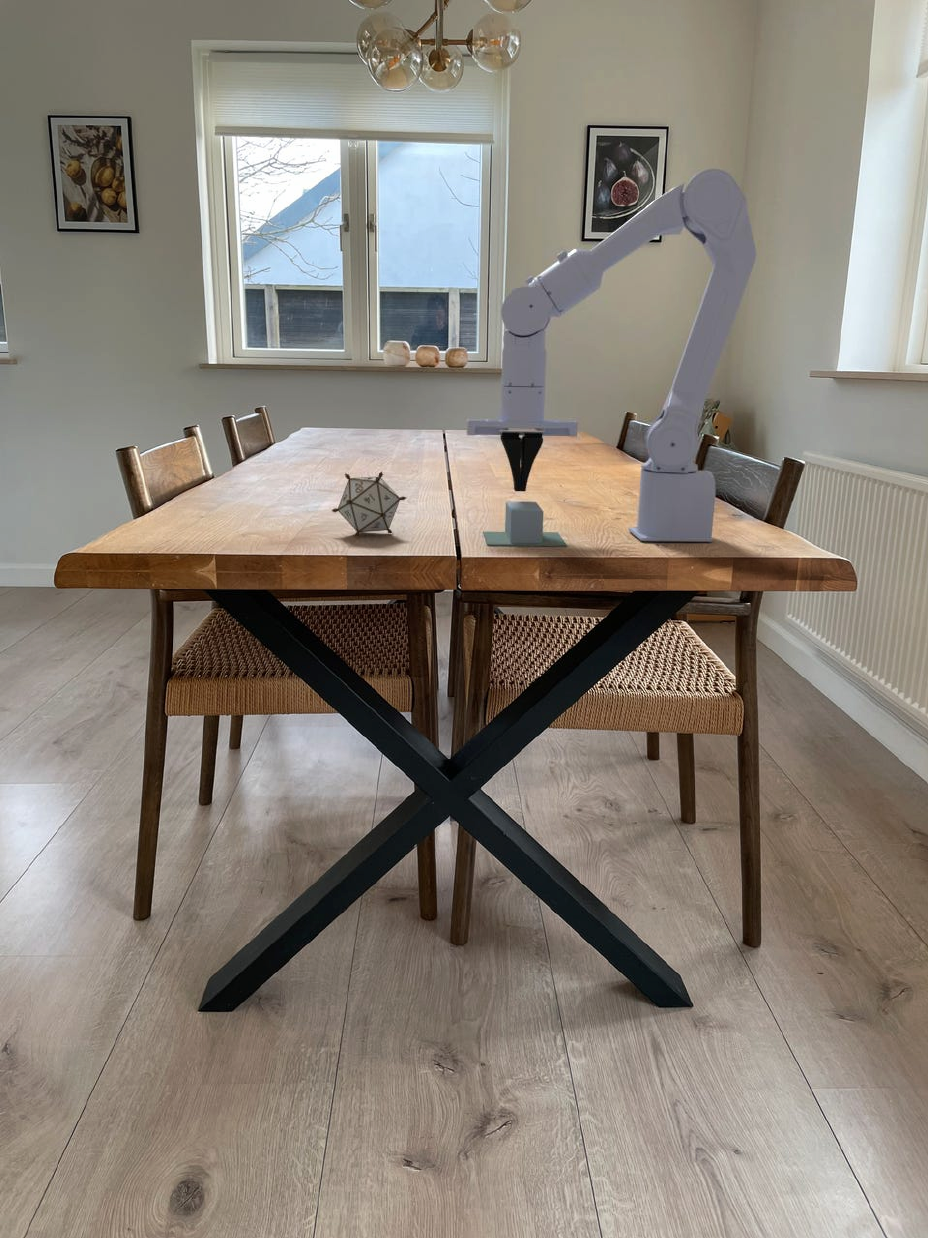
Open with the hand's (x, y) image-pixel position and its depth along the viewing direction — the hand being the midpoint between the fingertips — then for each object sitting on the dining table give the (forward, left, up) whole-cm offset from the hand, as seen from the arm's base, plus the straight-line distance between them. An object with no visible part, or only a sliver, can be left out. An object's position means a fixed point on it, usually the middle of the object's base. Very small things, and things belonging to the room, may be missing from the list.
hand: (519, 490), depth 127 cm
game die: (+20, +4, -6) cm, 21 cm away
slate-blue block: (0, +2, -3) cm, 4 cm away
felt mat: (0, +7, -5) cm, 9 cm away
